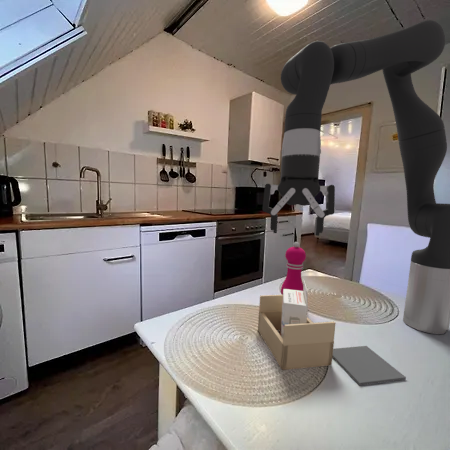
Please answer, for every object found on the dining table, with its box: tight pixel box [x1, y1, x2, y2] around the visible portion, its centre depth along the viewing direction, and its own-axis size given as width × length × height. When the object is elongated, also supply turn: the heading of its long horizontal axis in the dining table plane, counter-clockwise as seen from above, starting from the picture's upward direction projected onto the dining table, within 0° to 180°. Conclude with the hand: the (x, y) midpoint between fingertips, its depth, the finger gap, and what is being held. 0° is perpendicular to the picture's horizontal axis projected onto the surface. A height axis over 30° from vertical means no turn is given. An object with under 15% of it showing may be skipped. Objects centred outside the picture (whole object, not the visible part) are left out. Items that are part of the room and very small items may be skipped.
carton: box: [257, 294, 336, 371], centre depth 56 cm, size 11×15×9 cm
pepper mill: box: [280, 241, 307, 295], centre depth 77 cm, size 7×7×20 cm
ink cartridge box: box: [280, 278, 309, 338], centre depth 56 cm, size 9×5×15 cm, turn 168°
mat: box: [332, 345, 407, 386], centre depth 51 cm, size 10×10×1 cm
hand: (295, 233), depth 53 cm, fingers open, 8 cm apart
